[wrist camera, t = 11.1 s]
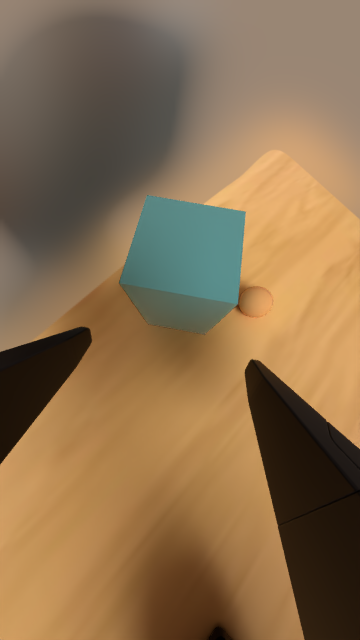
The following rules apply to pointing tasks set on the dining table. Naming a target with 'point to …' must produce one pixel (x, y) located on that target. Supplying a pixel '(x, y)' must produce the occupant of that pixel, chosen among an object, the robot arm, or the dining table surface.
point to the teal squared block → (184, 264)
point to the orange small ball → (256, 302)
